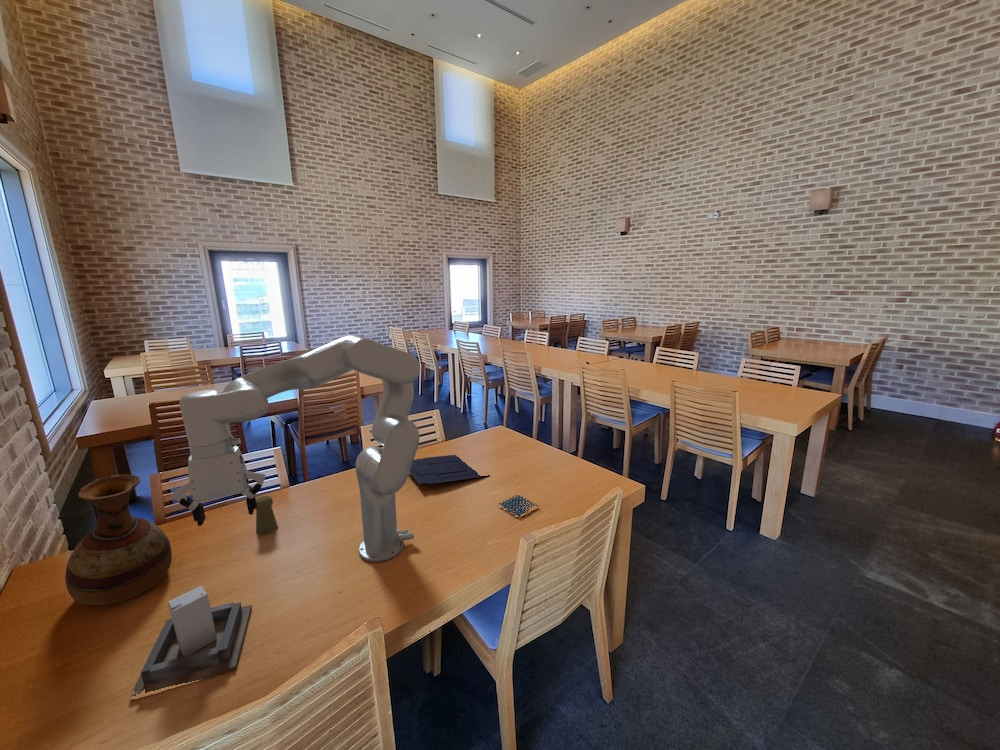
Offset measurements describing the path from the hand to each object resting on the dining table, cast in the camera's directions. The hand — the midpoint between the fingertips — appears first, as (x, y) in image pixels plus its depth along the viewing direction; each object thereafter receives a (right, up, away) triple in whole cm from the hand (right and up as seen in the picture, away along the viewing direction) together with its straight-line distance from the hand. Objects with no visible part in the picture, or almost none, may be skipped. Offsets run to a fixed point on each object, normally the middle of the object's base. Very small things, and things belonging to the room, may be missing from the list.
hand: (227, 516), depth 90 cm
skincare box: (-3, -26, -5) cm, 27 cm away
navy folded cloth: (+39, -9, +75) cm, 85 cm away
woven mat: (+68, -15, +50) cm, 86 cm away
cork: (-13, -17, +37) cm, 42 cm away
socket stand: (-3, -27, -5) cm, 27 cm away
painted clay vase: (-35, -23, +13) cm, 44 cm away
